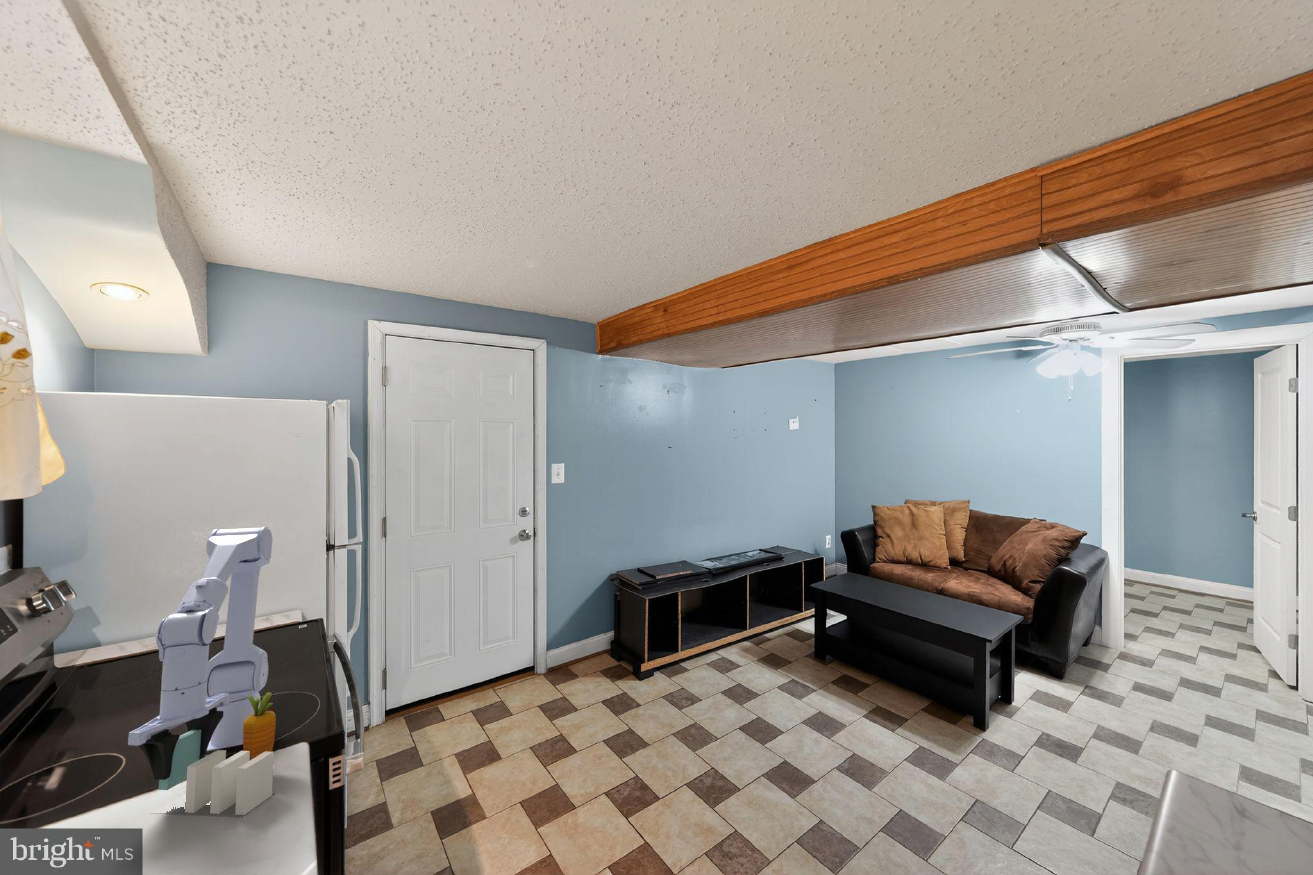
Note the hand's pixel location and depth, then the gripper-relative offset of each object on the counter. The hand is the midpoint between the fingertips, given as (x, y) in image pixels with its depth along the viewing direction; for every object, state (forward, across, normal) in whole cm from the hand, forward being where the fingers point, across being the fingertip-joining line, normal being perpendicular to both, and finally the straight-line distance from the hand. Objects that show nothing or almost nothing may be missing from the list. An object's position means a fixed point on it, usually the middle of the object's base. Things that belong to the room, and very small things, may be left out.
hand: (179, 768), depth 83 cm
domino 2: (+5, 0, -10) cm, 11 cm away
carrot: (+6, +7, -7) cm, 12 cm away
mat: (+6, 0, -7) cm, 9 cm away
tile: (+2, 0, 0) cm, 2 cm away
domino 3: (+5, 0, -14) cm, 15 cm away
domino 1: (+5, 0, -5) cm, 7 cm away
